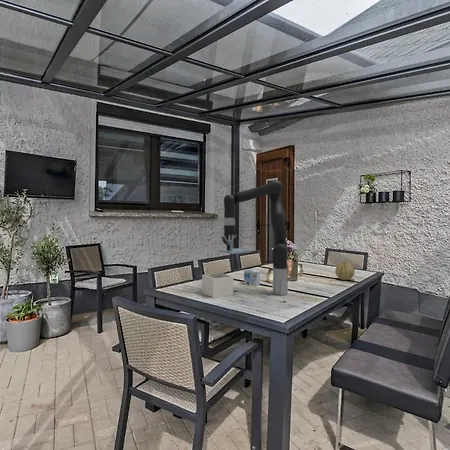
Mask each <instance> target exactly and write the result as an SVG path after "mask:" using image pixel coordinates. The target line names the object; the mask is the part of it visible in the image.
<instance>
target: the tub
mask: <svg viewBox="0 0 450 450" xmlns="http://www.w3.org/2000/svg"><path fill="white" fill-rule="evenodd" d="M201 293H202V294H204V295H207V296H209V297H210V296H211V297H210V298H212V297H213V299H215V298H221V297H223V298H224V297H229V296H234V276H232V275H229V274H227V273H223V272H216V273H208V274H202V275H201Z"/></svg>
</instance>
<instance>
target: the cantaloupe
mask: <svg viewBox="0 0 450 450" xmlns="http://www.w3.org/2000/svg"><path fill="white" fill-rule="evenodd" d="M355 273H356V272H355V267H354V266H353V264H351V263H350V262H345V261H343V262H339V263H338V264H337V266H336V267H335V276H336V277H337V278H338V279H339V280H343V281H349V280H351V279H353V277H354V276H355Z"/></svg>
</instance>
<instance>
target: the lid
mask: <svg viewBox="0 0 450 450" xmlns="http://www.w3.org/2000/svg"><path fill="white" fill-rule="evenodd" d="M233 246H234V244H233V243H231V242H230V250H229V251H228V250H227V248H226V249H218V252H219V253H225V254H230V255H234V254H236V255H237V254H246V253H252V252H253V251H252V249H245V248H244V249H243V248H233Z"/></svg>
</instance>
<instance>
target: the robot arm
mask: <svg viewBox="0 0 450 450" xmlns="http://www.w3.org/2000/svg"><path fill="white" fill-rule="evenodd" d="M282 190H283V184H282V182H281V181H279V180H272V181H270V182H267V183H266V184H263V185H260V186H257V187H253V188H250V189H245V190H241V191H239V192H236V193H232V194H227V195H225V196H224V197H223V209H224V212H223V217H224V218H223V232H224V233H223V235H221V236H220V239H221V241H222V243H223V244H224V245H226V249H227V250H228V251H229V250H230V242H231V243H233V245H234V244H236V242H237V240H238V238H239V236H238V235H236V217H235V216H236V215H235V205H236V204H239V203H245V202H247V201H250V200H253V199H256V198H260V197H263V196H267V195H269V201H270V211H269V212H270V224H271V229H272V232H273V234H274V235H273V236H274V246H273V249H272V294H273V295H275V296H277V295H278V296H285V295H288V292H289V289H288V287H289V286H288V284H289V280H288V277H287V276H288V263H287V261H288V259H287V258H288V253H289V247H288V243H287V239H286V238H287V237H286V217H285V211H284V206H283V203H282Z"/></svg>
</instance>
